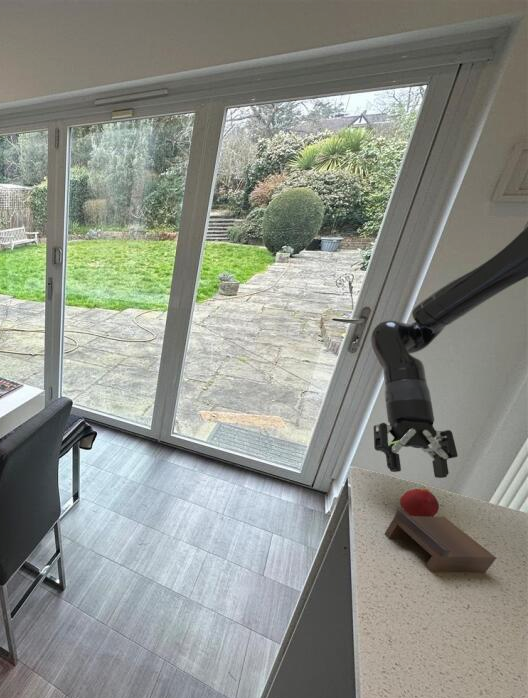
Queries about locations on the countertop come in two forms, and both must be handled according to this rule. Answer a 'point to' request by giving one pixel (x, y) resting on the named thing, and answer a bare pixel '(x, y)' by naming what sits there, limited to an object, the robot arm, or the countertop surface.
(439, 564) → the shelf
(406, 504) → the red rounded lump
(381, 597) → the countertop surface
